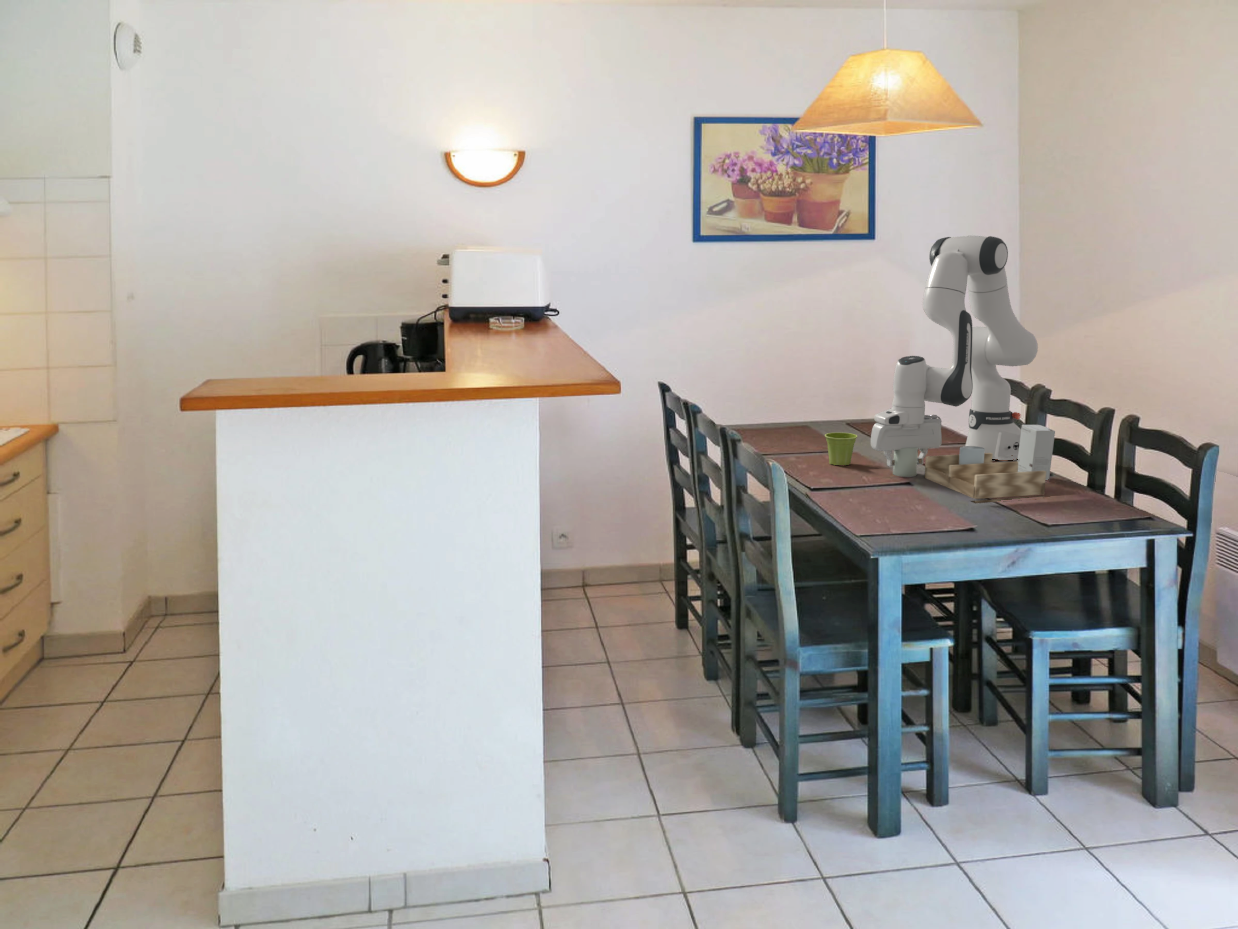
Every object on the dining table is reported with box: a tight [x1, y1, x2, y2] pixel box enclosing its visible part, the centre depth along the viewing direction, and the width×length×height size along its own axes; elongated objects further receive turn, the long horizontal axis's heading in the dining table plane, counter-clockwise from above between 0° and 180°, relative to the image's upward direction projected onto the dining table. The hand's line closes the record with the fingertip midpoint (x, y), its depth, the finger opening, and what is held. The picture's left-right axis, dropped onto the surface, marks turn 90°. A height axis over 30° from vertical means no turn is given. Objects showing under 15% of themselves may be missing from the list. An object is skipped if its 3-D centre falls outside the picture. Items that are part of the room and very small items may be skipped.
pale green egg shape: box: [892, 448, 919, 478], centre depth 309 cm, size 6×6×9 cm
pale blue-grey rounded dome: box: [958, 445, 985, 465], centre depth 301 cm, size 6×6×9 cm
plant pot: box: [824, 432, 858, 466], centre depth 328 cm, size 9×9×9 cm
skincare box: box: [1016, 424, 1056, 480], centre depth 307 cm, size 8×6×15 cm
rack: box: [924, 453, 1046, 504], centre depth 295 cm, size 20×25×7 cm
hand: (905, 465), depth 309 cm, fingers open, 7 cm apart
